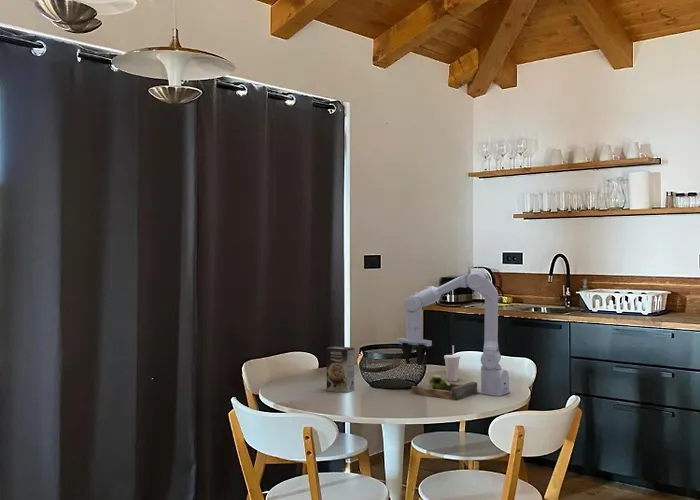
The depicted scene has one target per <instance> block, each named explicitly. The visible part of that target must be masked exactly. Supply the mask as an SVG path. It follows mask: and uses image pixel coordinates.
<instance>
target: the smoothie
mask: <svg viewBox="0 0 700 500" xmlns="http://www.w3.org/2000/svg"><path fill="white" fill-rule="evenodd" d="M451 347H452V354H446V355H444V356H443V359H444V363H445V370H446V377H447V378H446V379H448V382H457V381H458V376H459V375H458V374H459V367H460V366H459V365H460V360H461V355H458V354H455V345H453V344H452V346H451Z"/></svg>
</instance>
